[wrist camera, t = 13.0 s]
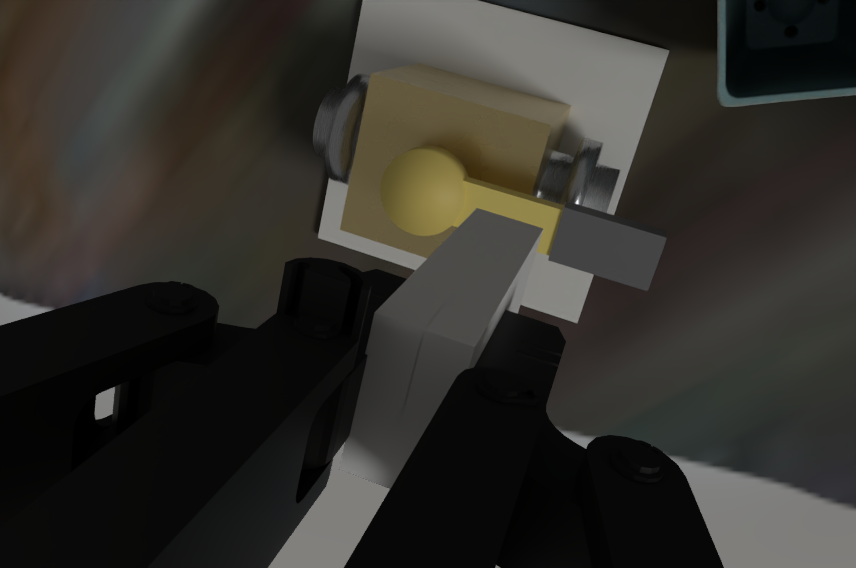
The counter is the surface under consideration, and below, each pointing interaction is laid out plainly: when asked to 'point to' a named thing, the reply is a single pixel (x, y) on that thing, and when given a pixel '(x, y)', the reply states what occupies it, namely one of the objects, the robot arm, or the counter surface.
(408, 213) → the lever
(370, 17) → the mat
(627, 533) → the robot arm
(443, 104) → the valve
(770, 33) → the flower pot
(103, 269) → the counter surface
